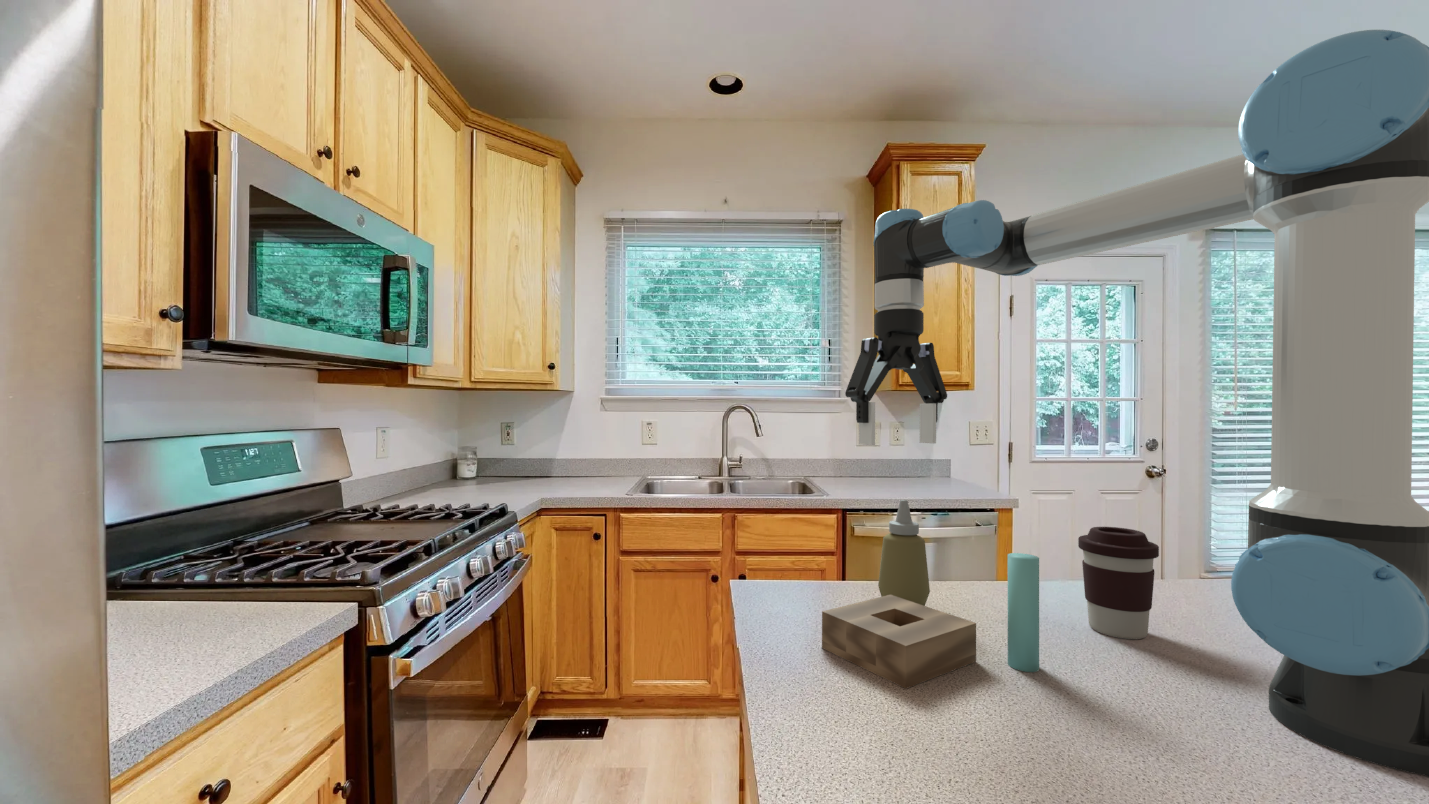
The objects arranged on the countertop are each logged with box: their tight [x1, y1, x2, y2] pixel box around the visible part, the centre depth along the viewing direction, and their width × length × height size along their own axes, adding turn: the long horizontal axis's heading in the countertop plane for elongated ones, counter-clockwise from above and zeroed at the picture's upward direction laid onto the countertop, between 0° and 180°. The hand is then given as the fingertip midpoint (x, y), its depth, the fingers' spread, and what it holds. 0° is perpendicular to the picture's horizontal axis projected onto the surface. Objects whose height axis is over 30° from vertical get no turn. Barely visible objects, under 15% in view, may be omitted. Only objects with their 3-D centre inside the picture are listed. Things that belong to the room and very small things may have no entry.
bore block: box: [821, 595, 977, 690], centre depth 78 cm, size 14×14×5 cm
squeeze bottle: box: [878, 499, 931, 606], centre depth 96 cm, size 8×8×18 cm
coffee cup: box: [1077, 526, 1160, 640], centre depth 88 cm, size 10×10×15 cm
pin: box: [1007, 552, 1040, 673], centre depth 75 cm, size 4×4×14 cm
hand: (898, 444), depth 93 cm, fingers open, 13 cm apart
